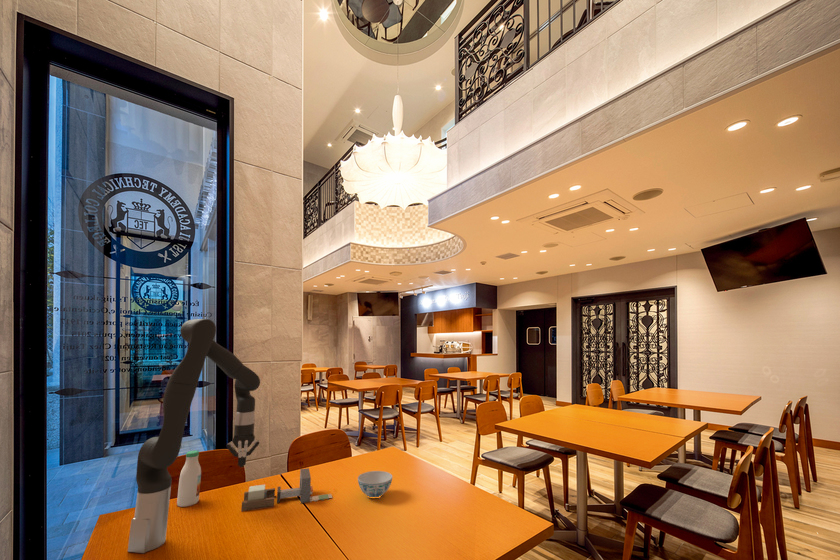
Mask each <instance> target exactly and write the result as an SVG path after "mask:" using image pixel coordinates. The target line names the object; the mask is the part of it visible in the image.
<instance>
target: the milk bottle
mask: <svg viewBox="0 0 840 560" xmlns="http://www.w3.org/2000/svg"><path fill="white" fill-rule="evenodd" d="M199 454H200V451H199V450H196V449H195V450H189V451H187V452H186V454H185V463H184V465H183V467H182V469H181V471H180V475H179V480H178V487H177V488H178V490H177V500H176V505H177V507H180V508H181V507H182V508H184V507H190V506H194V505H195V504H197V503H199V500H200V491H201V489H200V488H201V480H202V479H201V478H202V467H201V465H200V463H199Z"/></svg>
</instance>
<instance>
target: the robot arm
mask: <svg viewBox="0 0 840 560" xmlns="http://www.w3.org/2000/svg"><path fill="white" fill-rule="evenodd" d="M179 332H180V336H181V338H182V340H183V341H185V342H187V343H188V347H187V350H186V352H185V355H184V357H183V358H182V360H180V363H179V364H178V365H177V366H176V368H175V369H174V370H173V372H172V373H171V375H170V377H169V379H168V381H167V384H166V387H165V389H164V393H163V397H162V398H163V399H162V406H163V407H162V411H163V421H162V422H163V423H162V426H161V430H160V432H159V436H154V437H150V438H149V439H147V440H146V441H144V443H142V445H141V447H140V449H139V451H138V456H137V463H136V477H135V479H136V485H137V494H136V501H135V510H134V517H133V518H132V519H131V520H130V529H129V537H128V545H127V547H128V548H127V552H129V553H138V554H145V553H147V552H149V551H152V550H155V549H158V548H160V547H162V546H163V545H164V544H165V543H166V538H167V529H168V527H167V526H168V518H169V509H170V499H171V491H172V489H171V488H172V482H173V481H172V480H173V479H172V475H171V474H170V472H169V470H168V468H169V467H170V466H171V465H172V464H173V463H174V462H175V461H176V460H177V458H178V457H179V453H180V452H181V447H182V442H183V441H182V440H183V437H184V431H185V427H186V423H187V419H188V416H189V413H190V409H191V406H192V404H193V403H192V402H193V400H194V397H195V394H196V390H197V388H198V385H199V379H200V377H201V373H202V370H203V367H204V364H205V362H206V358H209V360H211V362H213V363H214V364H216V365H217V367H218V368H220V370H221V371H223V373H224V374H225V375H226V376H227V377H229V378H230V379H233V380H235V381H234V385H233V386H234V394H235V398H236V409H235V410H236V413H235V417H234V427H233V428H234V429H233V438H232V441H230V442H228V443H227V444H226V449H227V450H228V451H229V452H230V453H231V455H232V456H233V457H236V458H238V459H237V466H238V467H239V468H243V467H245V465H246V462H247V456H250V455H252V454H253V452H254V451H255V450H256V448H257V447H258V446H259V444H260V440H258V439H256V437H255V421H256V414H255V413H256V412H255V411H256V409H255V408H256V398H255V397H254V396H253V395H252V394H251V392H253V391H256V390H257V389H259V388H260V385H261V380H260V377H259V375H258V373H256V372H254V370H252V369H251V368H249V367H247V366H245V365H244V363H243V362H242V361H241V360H240V359H239V358H238V357H237V356H236V355H235V354H234V353H233V352H231V351H230V350H228V349H227V348H226V347H223V346H222V345H220V344H219V343H217V342H216V341H215V340H214V339H215V337H216V334H217V333H216V332H217V326H216V324H215V322H214V321H213V320H211V319H209V318H193V319H189V320H187V321H185V322H184V323H183V324H182V326H181V327H180V331H179ZM251 445H252V446H251ZM234 446H235V447H236V448H237V450H236V449H235V448H234ZM250 446H251V448H250V449H249V450H248V448H249V447H250Z"/></svg>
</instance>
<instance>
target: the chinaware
mask: <svg viewBox="0 0 840 560" xmlns="http://www.w3.org/2000/svg"><path fill="white" fill-rule="evenodd" d="M392 480H393V475H392V474H391V472H388V471H382V470H372V471H367V472H363V473H360V474H359V475H358V476H357V484H358V486H359V488H360V490H361V492H362V493H363V494H365V495H366V497H367V496H369V497H379V496H381V495H383V496H384V494H385V493H386V492H387V491H388V490H389V489H390V487H391V485H392Z"/></svg>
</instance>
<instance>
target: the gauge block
mask: <svg viewBox="0 0 840 560" xmlns="http://www.w3.org/2000/svg"><path fill="white" fill-rule="evenodd" d="M265 489H266V490H265ZM267 489H268V488H266V484H259V485H251V486H249V487H248V491H249V492H248V491H247V492H248V501H250V500H257V499H265V498H267Z"/></svg>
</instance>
